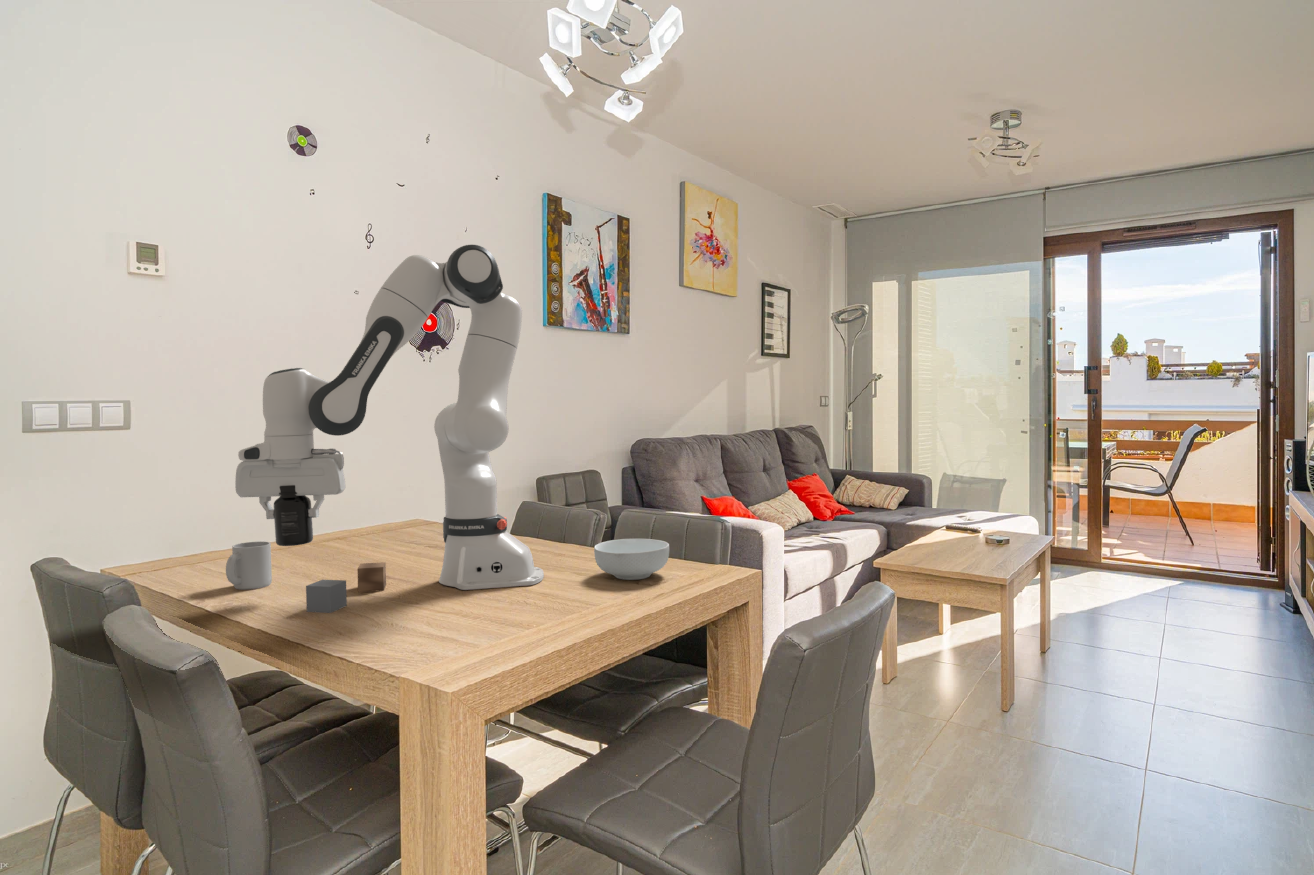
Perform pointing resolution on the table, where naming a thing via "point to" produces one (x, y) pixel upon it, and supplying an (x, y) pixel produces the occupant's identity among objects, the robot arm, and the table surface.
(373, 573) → the walnut block
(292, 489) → the supplement bottle
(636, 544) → the cereal bowl
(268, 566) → the cup
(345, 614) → the table surface
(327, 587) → the charcoal block
